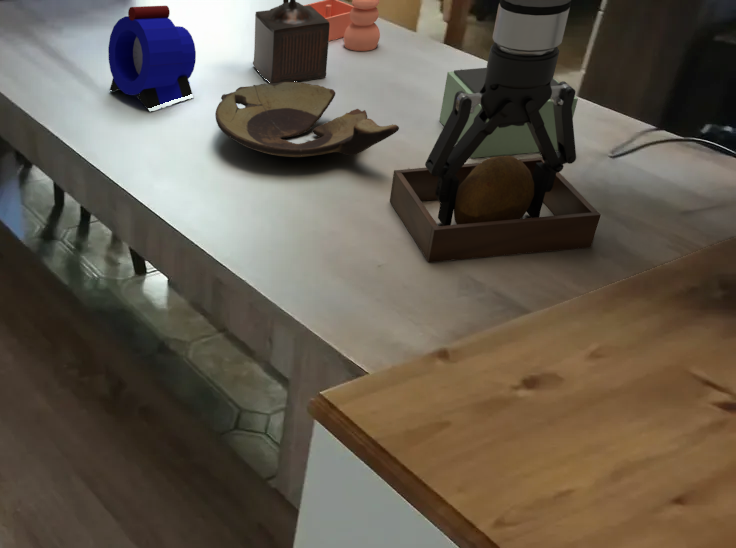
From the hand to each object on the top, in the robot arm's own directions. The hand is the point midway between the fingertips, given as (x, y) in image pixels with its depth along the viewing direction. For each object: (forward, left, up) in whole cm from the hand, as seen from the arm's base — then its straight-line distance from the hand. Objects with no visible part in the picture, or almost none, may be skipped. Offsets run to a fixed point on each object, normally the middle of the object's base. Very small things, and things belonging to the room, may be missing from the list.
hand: (487, 218), depth 121 cm
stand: (+26, -12, -1) cm, 28 cm away
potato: (0, +1, -1) cm, 1 cm away
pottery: (+74, 0, -1) cm, 74 cm away
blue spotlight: (+54, +38, -1) cm, 66 cm away
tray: (0, 0, -1) cm, 1 cm away
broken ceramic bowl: (+27, +19, -1) cm, 33 cm away
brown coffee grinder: (+59, +16, -1) cm, 61 cm away
